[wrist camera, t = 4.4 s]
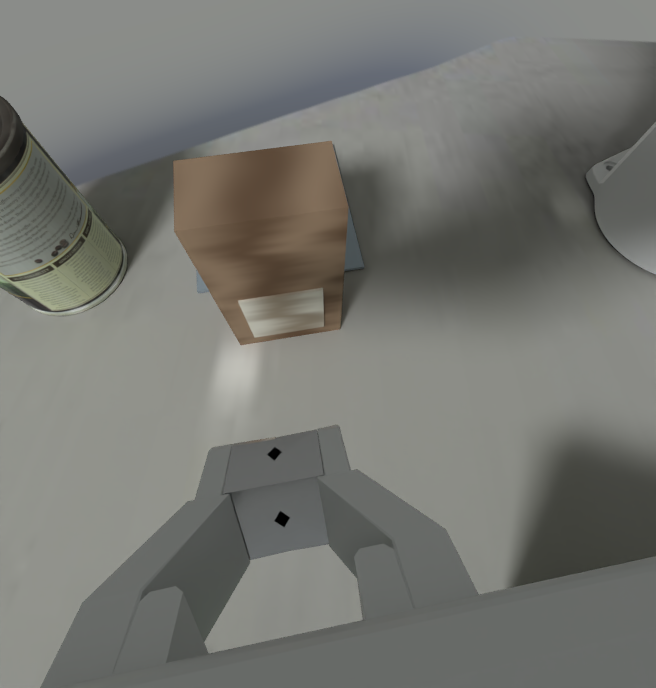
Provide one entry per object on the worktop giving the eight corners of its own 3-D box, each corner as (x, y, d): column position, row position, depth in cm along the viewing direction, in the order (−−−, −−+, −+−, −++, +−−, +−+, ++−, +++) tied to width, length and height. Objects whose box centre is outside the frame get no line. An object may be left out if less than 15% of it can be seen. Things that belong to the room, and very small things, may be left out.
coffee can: (3, 316, 33) (-206, 202, 20) (40, 227, 37) (-115, 84, 24) (114, 318, 33) (-24, 204, 20) (139, 228, 37) (37, 85, 24)
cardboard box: (330, 282, 35) (331, 140, 21) (340, 331, 33) (349, 209, 19) (236, 296, 34) (173, 160, 20) (240, 347, 32) (174, 234, 18)
